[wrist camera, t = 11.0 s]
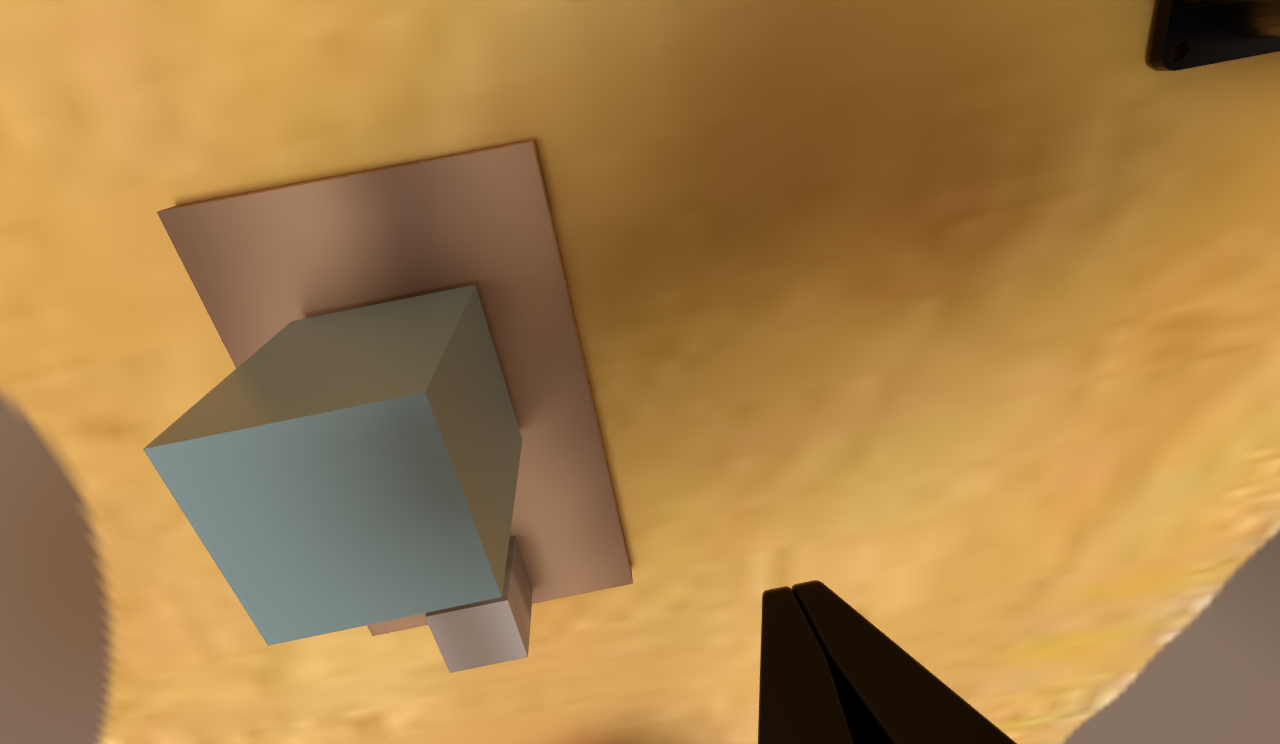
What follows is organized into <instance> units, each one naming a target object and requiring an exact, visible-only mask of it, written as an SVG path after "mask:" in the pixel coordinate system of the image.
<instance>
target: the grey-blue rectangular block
mask: <svg viewBox="0 0 1280 744" xmlns="http://www.w3.org/2000/svg"><path fill="white" fill-rule="evenodd" d="M522 440H523V439H522V436H521V433H520V430H519V426H518V423H517V420H516V416H515V413H514V410H513V407H512V403H511V400H510V397H509V394H508V390H507V387H506V384H505V380H504V377H503V374H502V371H501V367H500V364H499V361H498V357H497V354H496V351H495V348H494V344H493V341H492V338H491V334H490V331H489V328H488V325H487V321H486V318H485V315H484V312H483V308H482V305H481V302H480V298H479V295H478V292H477V289H476V285H472V286H467V287H462V288H457V289H452V290H447V291H441V292H436V293H431V294H426V295H421V296H416V297H411V298H406V299H401V300H396V301H391V302H386V303H381V304H376V305H371V306H366V307H361V308H356V309H351V310H346V311H341V312H336V313H331V314H326V315H321V316H316V317H310V318H305V319H300V320H295V321H291V322H290V323H289V324H288V325H287V326H285V327H284V328H283V329H282V330H281V331H280V332H278V333H277V334H276V335H275V336H274V337H273V338H272V339H270V340H269V341H268V342H267V343H266V344H265V345H263V346H262V347H261V348H260V349H259V350H258V351H256V352H255V353H254V354H253V355H252V356H251V357H249V358H248V359H247V360H246V361H245V362H244V363H243V364H241V365H240V366H239V367H238V368H237V369H236V370H234V371H233V372H232V373H231V374H230V375H229V376H227V377H226V378H225V379H224V380H223V381H222V382H220V383H219V384H218V385H217V386H216V387H215V388H214V389H212V390H211V391H210V392H209V393H208V394H207V395H205V396H204V397H203V398H202V399H201V400H200V401H198V402H197V403H196V404H195V405H194V406H193V407H192V408H190V409H189V410H188V411H187V412H186V413H185V414H183V415H182V416H181V417H180V418H179V419H178V420H176V421H175V422H174V423H173V424H172V425H171V426H169V427H168V428H167V429H166V430H165V431H164V432H163V433H161V434H160V435H159V436H158V437H157V438H156V439H154V440H153V441H152V442H151V443H150V444H149V445H147V446H146V447H145V448H144V449H143V450H144V451H145V453H146V454H147V456H148V457H149V459H150V461H151V462H152V464H153V465H154V467H155V469H156V470H157V472H158V473H159V475H160V476H161V478H162V480H163V481H164V483H165V484H166V486H167V487H168V489H169V491H170V492H171V494H172V495H173V497H174V498H175V500H176V502H177V503H178V505H179V506H180V508H181V509H182V511H183V513H184V514H185V516H186V517H187V519H188V520H189V522H190V524H191V525H192V527H193V528H194V530H195V531H196V533H197V535H198V536H199V538H200V539H201V541H202V542H203V544H204V546H205V547H206V549H207V550H208V552H209V553H210V555H211V557H212V558H213V560H214V561H215V563H216V564H217V566H218V568H219V569H220V571H221V572H222V574H223V575H224V577H225V579H226V580H227V582H228V583H229V585H230V587H231V588H232V590H233V591H234V593H235V594H236V596H237V598H238V599H239V601H240V602H241V604H242V605H243V607H244V609H245V610H246V612H247V613H248V615H249V616H250V618H251V620H252V621H253V623H254V624H255V626H256V627H257V629H258V631H259V632H260V634H261V635H262V637H263V638H264V640H265V642H266V643H267V645H268V646H269V645H273V644H278V643H283V642H288V641H293V640H297V639H302V638H307V637H312V636H317V635H322V634H326V633H331V632H336V631H341V630H346V629H350V628H355V627H360V626H365V625H370V624H374V623H379V622H384V621H389V620H394V619H398V618H403V617H408V616H413V615H418V614H422V613H427V612H432V611H437V610H442V609H446V608H451V607H456V606H461V605H466V604H471V603H475V602H480V601H485V600H490V599H495V598H499V597H502V592H503V584H504V576H505V569H506V561H507V554H508V546H509V539H510V531H511V523H512V516H513V508H514V501H515V493H516V486H517V478H518V470H519V463H520V455H521V448H522Z"/></svg>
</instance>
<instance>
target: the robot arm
mask: <svg viewBox="0 0 1280 744" xmlns="http://www.w3.org/2000/svg"><path fill="white" fill-rule="evenodd" d="M1175 45H1176V51H1175V54H1174V56H1173V57H1172V58H1171V51H1172V49H1173V47H1174V46H1175ZM1277 51H1280V0H1160V5H1159V11H1158V16H1157V22H1156V27H1155V33H1154V38H1153V44H1152V49H1151V55H1150V62H1151V64H1152V66H1153V68H1155V69H1156V70H1159V71H1176V70H1181V69H1187V68H1192V67H1197V66H1203V65H1208V64H1213V63H1219V62H1224V61H1229V60H1235V59H1240V58H1245V57H1251V56H1256V55H1261V54H1267V53H1272V52H1277ZM758 744H1017V743H1015V742H1014V741H1013V740H1012V739H1011V738H1009V737H1008V736H1007V735H1006V734H1005V733H1003V732H1002V731H1001V730H1000V729H999V728H997V727H996V726H995V725H994V724H992V723H991V722H990V721H989V720H988V719H986V718H985V717H984V716H983V715H982V714H980V713H979V712H978V711H977V710H976V709H974V708H973V707H972V706H971V705H970V704H968V703H967V702H966V701H965V700H963V699H962V698H961V697H960V696H959V695H957V694H956V693H955V692H954V691H953V690H951V689H950V688H949V687H948V686H947V685H945V684H944V683H943V682H942V681H941V680H939V679H938V678H937V677H936V676H934V675H933V674H932V673H931V672H930V671H928V670H927V669H926V668H925V667H924V666H922V665H921V664H920V663H919V662H918V661H916V660H915V659H914V658H913V657H911V656H910V655H909V654H908V653H907V652H905V651H904V650H903V649H902V648H901V647H899V646H898V645H897V644H896V643H895V642H893V641H892V640H891V639H890V638H889V637H887V636H886V635H885V634H884V633H882V632H881V631H880V630H879V629H878V628H876V627H875V626H874V625H873V624H872V623H870V622H869V621H868V620H867V619H866V618H864V617H863V616H862V615H861V614H860V613H858V612H857V611H856V610H855V609H853V608H852V607H851V606H850V605H849V604H847V603H846V602H845V601H844V600H843V599H841V598H840V597H839V596H838V595H837V594H835V593H834V592H833V591H832V590H831V589H829V588H828V587H827V586H826V585H824V584H823V583H822V582H820V581H817V580H815V581H809V582H804V583H799V584H795V585H793V586H792V588H790V587H787V586H785V587H780V588H775V589H770V590H766V591H764V593H763V596H762V626H761V659H760V692H759V725H758Z"/></svg>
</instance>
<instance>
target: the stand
mask: <svg viewBox="0 0 1280 744" xmlns="http://www.w3.org/2000/svg"><path fill="white" fill-rule="evenodd" d="M157 213H158V215H159V217H160V219H161V221H162V223H163V225H164V227H165V229H166V231H167V233H168V235H169V237H170V239H171V241H172V243H173V245H174V247H175V249H176V251H177V253H178V255H179V257H180V258H181V260H182V262H183V264H184V266H185V268H186V270H187V272H188V274H189V276H190V278H191V280H192V282H193V284H194V286H195V288H196V290H197V292H198V294H199V296H200V298H201V300H202V302H203V304H204V306H205V308H206V310H207V312H208V314H209V316H210V317H211V319H212V321H213V323H214V325H215V327H216V329H217V331H218V333H219V335H220V337H221V339H222V341H223V343H224V345H225V347H226V349H227V351H228V353H229V355H230V357H231V359H232V361H233V363H234V365H235V367H236V369H237V368H238V367H239V366H240V365H241V364H243V363H244V362H245V361H246V360H247V359H248V358H249V357H251V356H252V355H253V354H254V353H255V352H256V351H258V350H259V349H260V348H261V347H262V346H263V345H265V344H266V343H267V342H268V341H269V340H270V339H272V338H273V337H274V336H275V335H276V334H277V333H278V332H280V331H281V330H282V329H283V328H284V327H285V326H287V325H288V324H289V323H290V322H291V321H295V320H300V319H305V318H310V317H316V316H321V315H326V314H331V313H336V312H341V311H346V310H351V309H356V308H361V307H366V306H371V305H376V304H381V303H386V302H391V301H396V300H401V299H406V298H411V297H416V296H421V295H426V294H431V293H436V292H441V291H447V290H452V289H457V288H462V287H467V286H472V285H476V289H477V292H478V295H479V298H480V302H481V305H482V308H483V312H484V315H485V318H486V321H487V325H488V328H489V331H490V334H491V338H492V341H493V344H494V348H495V351H496V354H497V357H498V361H499V364H500V367H501V371H502V374H503V377H504V380H505V384H506V387H507V390H508V394H509V397H510V400H511V403H512V407H513V410H514V413H515V416H516V420H517V423H518V426H519V430H520V433H521V436H522V439H523V440H522V448H521V455H520V463H519V470H518V478H517V486H516V493H515V501H514V508H513V516H512V523H511V531H510V539H509V546H508V554H507V561H506V569H505V576H504V584H503V592H502V597H499V598H495V599H490V600H485V601H480V602H475V603H471V604H466V605H461V606H456V607H451V608H446V609H442V610H437V611H432V612H427V613H422V614H418V615H413V616H408V617H403V618H398V619H394V620H389V621H384V622H379V623H374V624H370V625H367V626H368V628H369V630H370V632H371V634H372V636H375V635H380V634H385V633H390V632H395V631H400V630H404V629H409V628H414V627H419V626H424V625H429V627H430V629H431V631H432V634H433V636H434V638H435V640H436V643H437V645H438V647H439V649H440V652H441V654H442V656H443V658H444V661H445V663H446V665H447V667H448V670H449V672H450V673H452V672H457V671H461V670H466V669H471V668H476V667H481V666H486V665H491V664H496V663H501V662H506V661H511V660H515V659H520V658H525V657H528V647H529V634H530V620H531V606H532V604H533V603H538V602H543V601H548V600H553V599H558V598H563V597H568V596H573V595H578V594H583V593H588V592H593V591H598V590H602V589H607V588H612V587H617V586H622V585H627V584H632V583H633V579H632V571H631V566H630V561H629V557H628V552H627V548H626V544H625V539H624V535H623V530H622V526H621V522H620V517H619V513H618V508H617V504H616V499H615V495H614V491H613V486H612V482H611V477H610V473H609V469H608V464H607V460H606V455H605V451H604V447H603V442H602V438H601V433H600V429H599V424H598V420H597V416H596V411H595V407H594V402H593V398H592V394H591V389H590V385H589V380H588V376H587V371H586V367H585V363H584V358H583V354H582V349H581V345H580V341H579V336H578V332H577V327H576V323H575V319H574V314H573V310H572V305H571V301H570V296H569V292H568V288H567V283H566V279H565V274H564V270H563V266H562V261H561V257H560V252H559V248H558V243H557V239H556V235H555V230H554V226H553V221H552V217H551V213H550V208H549V204H548V199H547V195H546V191H545V186H544V182H543V177H542V173H541V168H540V164H539V160H538V155H537V151H536V146H535V142H534V140H530V141H524V142H519V143H513V144H508V145H503V146H497V147H492V148H486V149H481V150H476V151H470V152H465V153H459V154H454V155H449V156H443V157H438V158H432V159H427V160H422V161H416V162H411V163H405V164H400V165H395V166H389V167H384V168H378V169H373V170H368V171H362V172H357V173H351V174H346V175H341V176H335V177H330V178H325V179H319V180H314V181H308V182H303V183H298V184H292V185H287V186H281V187H276V188H271V189H265V190H260V191H254V192H249V193H244V194H238V195H233V196H227V197H222V198H217V199H211V200H206V201H200V202H195V203H190V204H184V205H179V206H174V207H171V208H168V209H164V210H161V211H158V212H157Z"/></svg>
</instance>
